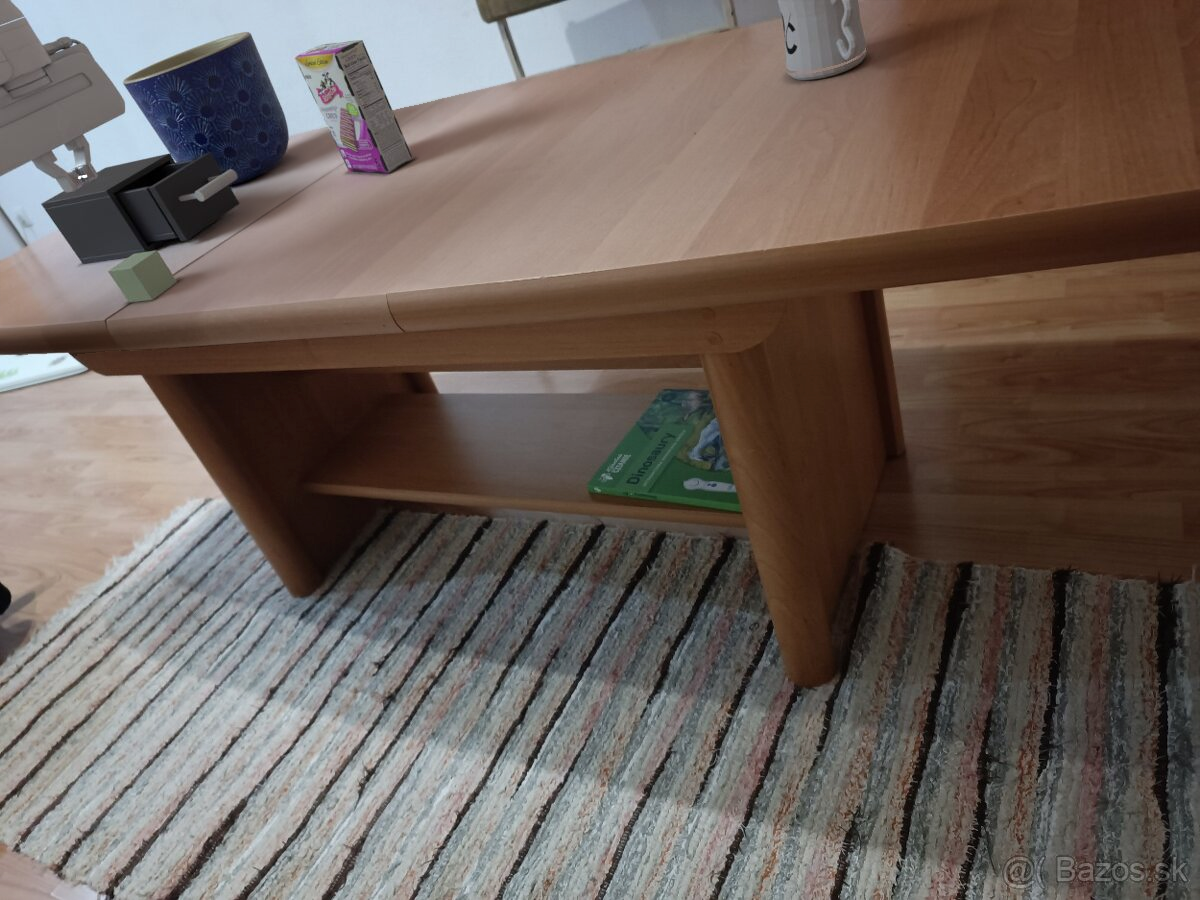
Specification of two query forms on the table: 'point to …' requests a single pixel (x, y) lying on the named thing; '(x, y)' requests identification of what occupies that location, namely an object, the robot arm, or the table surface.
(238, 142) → the planter
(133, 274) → the block
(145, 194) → the drawer
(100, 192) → the cabinet
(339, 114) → the candy bar box
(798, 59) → the mug
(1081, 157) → the table surface
